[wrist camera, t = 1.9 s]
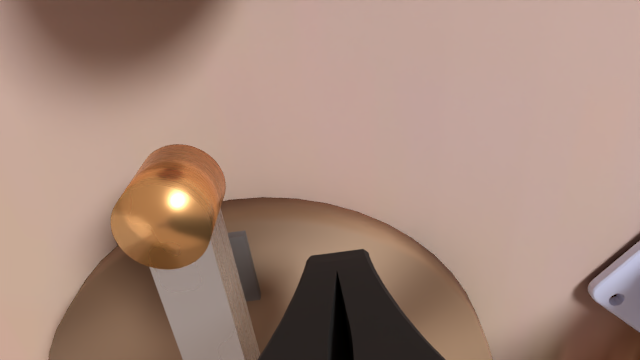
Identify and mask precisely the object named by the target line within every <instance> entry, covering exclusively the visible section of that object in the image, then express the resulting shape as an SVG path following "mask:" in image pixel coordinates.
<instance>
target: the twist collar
mask: <svg viewBox="0 0 640 360" xmlns="http://www.w3.org/2000/svg"><path fill="white" fill-rule="evenodd" d="M225 189H226V184H225V178H224V175H223V172H222V170H221V168H220V167H219V165H218V164H217V162H216V161H215V160H214V159H213V158H212V157H211V156H210V155H208V154H207V153H205V152H204V151H202V150H200V149H198V148H195V147H192V146H188V145H179V144H176V145H168V146H164V147H162V148H159V149H157V150H156V151H154V152H153V153H151V154H150V155H149V156H148V157H147V159H146V160H145V161H144V163H143V164H142V166H141V167H140V169H139V170H138V172H137V173H136V175H135V176H134V178H133V179H132V181H131V182H130V184H129V185H128V187H127V188H126V190H125V191H124V193H123V194H122V196H121V197H120V199H119V200H118V202H117V203H116V205H115V207H114V208H113V211H112V215H111V230H112V233H113V236H114V238H115V240H116V242H117V244H118V245H119V247H120V248H121V249H122V250H123V251H124V252H125V253H126V254H127V255H128V256H129V257H131V258H132V259H134V260H135V261H137V262H139V263H141V264H143V265H146V266H148V267H149V268H150V270H151V273H152V276H153V279H154V281H155V284H156V287H157V290H158V292H159V295H160V298H161V301H162V304H163V306H164V309H165V312H166V315H167V317H168V320H169V323H170V326H171V328H172V331H173V334H174V337H175V339H176V342H177V345H178V348H179V351H180V353H181V356H182V359H183V360H257V359H258V358H259V356H260V352H259V348H258V344H257V341H256V337H255V333H254V330H253V326H252V322H251V319H250V315H249V311H248V307H247V304H246V300H245V296H244V293H243V289H242V285H241V282H240V278H239V274H238V270H237V267H236V263H235V259H234V256H233V252H232V248H231V245H230V241H229V237H228V233H227V230H226V226H225V222H224V219H223V215H222V211H221V204H222V201H223V198H224V195H225Z"/></svg>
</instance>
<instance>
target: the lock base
mask: <svg viewBox="0 0 640 360" xmlns="http://www.w3.org/2000/svg"><path fill="white" fill-rule="evenodd" d="M221 211H222V215H223V219H224V222H225V226H226V230H227V233H228V237H229V241H230V245H231V248H232V252H233V256H234V259H235V263H236V267H237V270H238V274H239V278H240V282H241V285H242V289H243V293H244V296H245V300H246V304H247V307H248V311H249V315H250V319H251V322H252V326H253V330H254V333H255V337H256V341H257V344H258V348H259V352H260V355H261V353H262V352H263V350H264V349H265V347H266V345H267V344H268V342H269V340H270V339H271V337H272V335H273V333H274V332H275V330H276V328H277V326H278V325H279V323H280V321H281V319H282V317H283V316H284V314H285V311H286V309H287V307H288V305H289V303H290V301H291V299H292V297H293V295H294V293H295V291H296V288H297V286H298V284H299V281H300V279H301V276H302V273H303V271H304V268H305V265H306V261H307V259H308V258H309V257H310V256H312V255H320V254H328V253H335V252H343V251H351V250H358V249H364V250H366V251H367V252H369V256H370V259H371V261H372V263H373V265H374V268H375V269H376V271H377V273H378V275H379V277H380V278H381V280H382V282H383V284H384V285H385V287H386V288H387V290H388V291H389V293H390V294H391V296H392V297H393V298H394V300H395V301H396V303H397V304H398V306H399V307H400V308H401V310H402V311H403V312H404V314H405V315H406V316H407V317H408V319H409V320H410V321H411V322H412V324H413V325H414V326H415V327H416V328H417V330H418V331H419V332H420V333H421V334H422V335H423V336H424V338H425V339H426V340H427V341H428V342H429V343H430V344H431V345H432V346H433V347H434V348H435V349H436V350H437V351H438V352H439V353H440V354H441V355H442V356H443V357H444V358H445V359H446V360H493V359H492V356H491V352H490V349H489V345H488V342H487V340H486V337H485V335H484V332H483V329H482V327H481V324H480V322H479V319H478V317H477V314H476V312H475V310H474V308H473V306H472V304H471V302H470V300H469V298H468V296H467V294H466V292H465V291H464V289H463V288H462V286H461V285H460V284H459V282H458V281H457V279H456V278H455V277H454V275H453V274H452V273H451V272H450V271H449V270H448V269H447V268H446V267H445V266H444V264H443V263H442V262H441V261H440V260H439V259H438V258H437V257H436V256H435V255H434V254H432V253H431V252H430V251H428V250H427V249H426V248H424V247H423V246H422V245H420V244H419V243H418V242H416V241H415V240H414V239H413V238H411V237H409V236H407V235H406V234H404V233H402V232H400V231H399V230H397V229H395V228H393V227H392V226H390V225H388V224H386V223H384V222H381V221H379V220H376V219H374V218H372V217H369V216H367V215H364V214H362V213H359V212H356V211H353V210H349V209H345V208H342V207H338V206H334V205H331V204H327V203H320V202H314V201H307V200H301V199H291V198H265V197H262V198H249V199H236V200H227V201H222V204H221ZM49 360H183V359H182V356H181V353H180V351H179V348H178V345H177V342H176V339H175V337H174V334H173V331H172V328H171V326H170V323H169V320H168V317H167V315H166V312H165V309H164V306H163V304H162V301H161V298H160V295H159V292H158V290H157V287H156V284H155V281H154V279H153V276H152V273H151V270H150V268H149V267H148V266H146V265H143V264H141V263H139V262H137V261H135V260H134V259H132V258H131V257H129V256H128V255H127V254H126V253H125V252H124V251H123V250H122V249H121V248H120V247H119V245H118V246H117V247H116V248H115V249H114V250H113V251H111V252H110V253H109V254H108V255H107V256H106V257H105V258H104V259H103V260H101V262H100V263H99V264H98V265H97V267H96V268H95V269H94V270H93V272H92V273H91V274H90V275H89V276H88V278H87V279H86V280H85V282H84V284H83V285H82V287H81V288H80V290H79V292H78V293H77V295H76V297H75V298H74V300H73V301H72V303H71V305H70V306H69V308H68V310H67V312H66V313H65V315H64V317H63V319H62V321H61V322H60V324H59V326H58V328H57V330H56V333H55V336H54V339H53V342H52V345H51V348H50V351H49Z"/></svg>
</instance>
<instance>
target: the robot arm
mask: <svg viewBox="0 0 640 360" xmlns="http://www.w3.org/2000/svg"><path fill="white" fill-rule="evenodd" d="M588 293H589V294H590V295H591V297H592V298H593V299H594V301H595V302H597V303H598V304H600V305H601V306H603V307H604V308H605V309H607V310H608V311H610V312H611V313H613V314H614V315H615V316H617V317H618V318H620V319H621V320H623V321H624V322H625V323H627V324H628V325H630V326H631V327H633V328H634V329H635V330H637V331H638V332H640V241H638V242H637V243H636V244H635V245H634V246H632V247H631V248H630V249H629V250H628V251H626V252H625V253H624V254H623V255H622V256H620V257H619V258H618V259H617V260H616V261H614V262H613V263H612V264H611V265H610V266H608V267H607V268H606V269H605V270H604V271H602V272H601V273H600V274H599V275H598V276H596V277H595V278H594V279H593V280H592V281H591V282H590V283H589V286H588ZM615 294H617V295H616V296H615V297H613V298H611V296H613V295H615ZM257 360H446V359H445V358H444V357H443V356H442V355H441V354H440V353H439V352H438V351H437V350H436V349H435V348H434V347H433V346H432V345H431V344H430V343H429V342H428V341H427V340H426V339H425V338H424V336H423V335H422V334H421V333H420V332H419V331H418V330H417V328H416V327H415V326H414V325H413V324H412V322H411V321H410V320H409V319H408V317H407V316H406V315H405V314H404V312H403V311H402V310H401V308H400V307H399V306H398V304H397V303H396V301H395V300H394V298H393V297H392V296H391V294H390V293H389V291H388V290H387V288H386V287H385V285H384V284H383V282H382V280H381V278H380V277H379V275H378V273H377V271H376V269H375V268H374V265H373V263H372V261H371V259H370V256H369V252H367V251H366V250H364V249H358V250H351V251H343V252H335V253H328V254H320V255H312V256H310V257H309V258H308V259H307V261H306V265H305V268H304V271H303V273H302V276H301V279H300V281H299V284H298V286H297V288H296V291H295V293H294V295H293V297H292V299H291V301H290V303H289V305H288V307H287V309H286V311H285V314H284V316H283V317H282V319H281V321H280V323H279V325H278V326H277V328H276V330H275V332H274V333H273V335H272V337H271V339H270V340H269V342H268V344H267V345H266V347H265V349H264V350H263V352H262V353H261V355H260V356H259V358H258V359H257Z"/></svg>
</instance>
